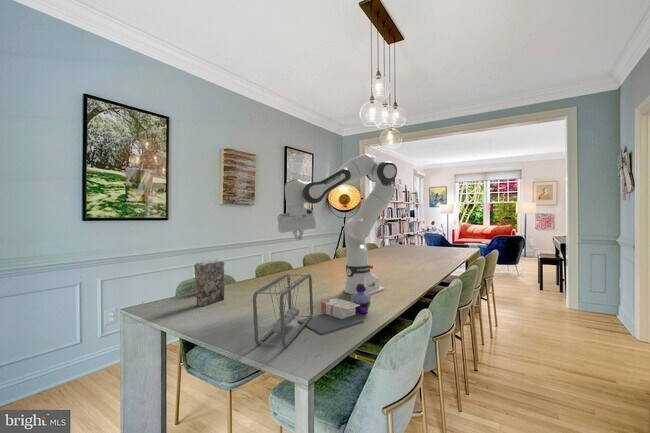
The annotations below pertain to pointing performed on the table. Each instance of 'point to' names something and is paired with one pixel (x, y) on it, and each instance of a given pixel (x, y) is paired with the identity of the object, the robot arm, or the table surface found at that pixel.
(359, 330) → the table surface
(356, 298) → the potion bottle
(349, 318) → the mat
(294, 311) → the newton's cradle
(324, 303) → the ink cartridge box
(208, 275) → the stone block
